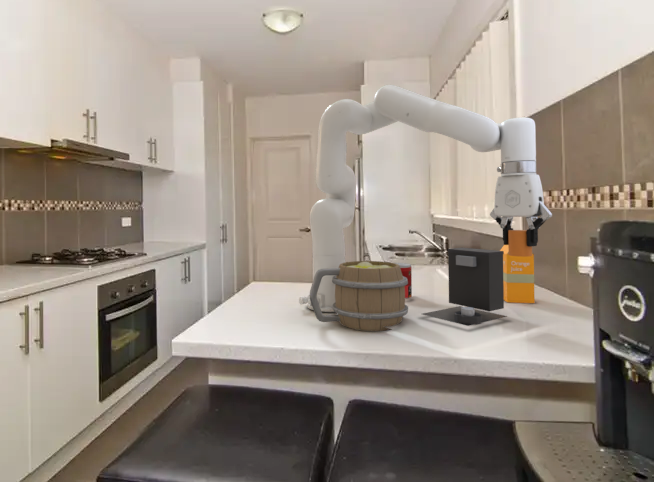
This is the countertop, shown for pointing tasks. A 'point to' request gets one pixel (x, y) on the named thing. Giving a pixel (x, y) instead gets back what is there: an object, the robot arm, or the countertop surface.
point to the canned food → (407, 273)
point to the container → (518, 243)
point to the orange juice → (518, 277)
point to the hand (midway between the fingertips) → (520, 244)
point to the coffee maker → (476, 278)
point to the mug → (364, 295)
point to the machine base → (464, 316)
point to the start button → (468, 311)
